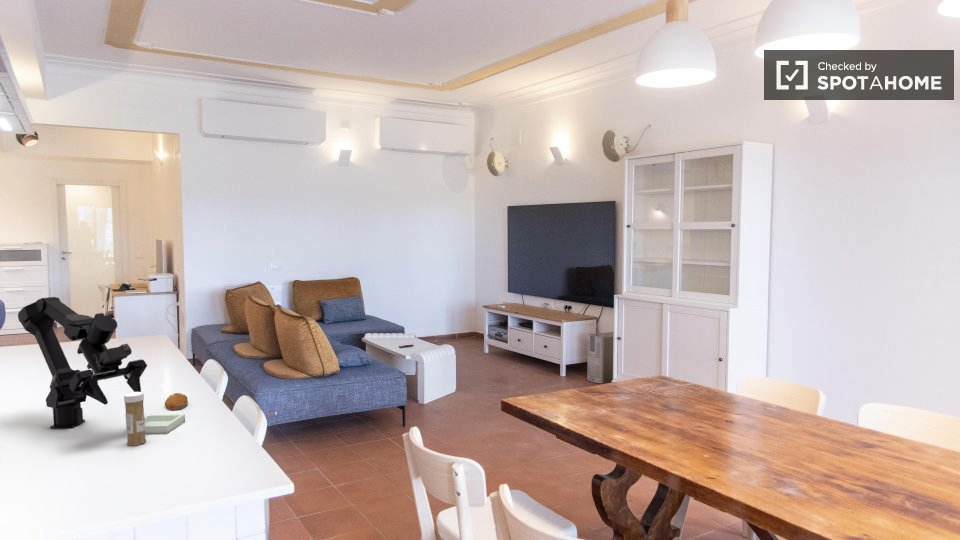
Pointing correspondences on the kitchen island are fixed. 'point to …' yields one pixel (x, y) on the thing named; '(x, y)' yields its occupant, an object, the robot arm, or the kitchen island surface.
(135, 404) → the sprinkles bottle
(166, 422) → the tray
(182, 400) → the pastry
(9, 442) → the kitchen island surface
